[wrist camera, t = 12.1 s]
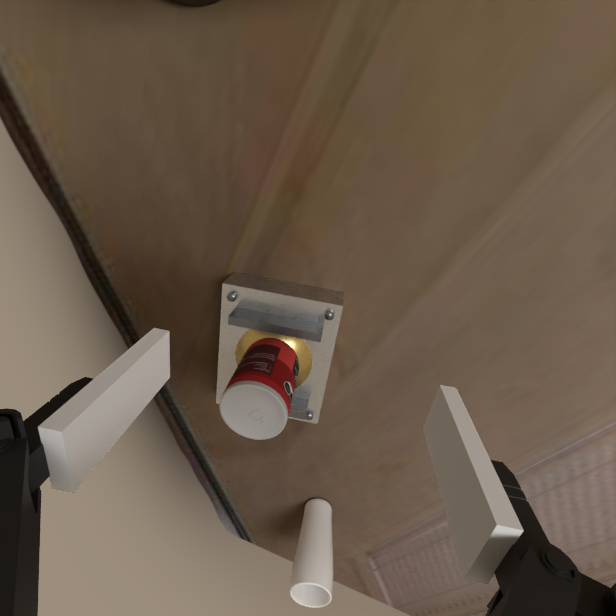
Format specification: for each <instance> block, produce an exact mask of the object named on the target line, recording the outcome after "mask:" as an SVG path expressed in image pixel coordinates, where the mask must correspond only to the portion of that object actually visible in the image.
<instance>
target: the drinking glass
mask: <svg viewBox="0 0 616 616" xmlns="http://www.w3.org/2000/svg"><path fill="white" fill-rule="evenodd" d="M332 588H333V545H332V508H331V505H330V504H329V503H328V502H327V501H325V500H323V499H319V498H315V499H311V500H309V501H308V502H307V503H306V505H305V509H304V516H303V521H302V526H301V530H300V535H299V539H298V544H297V548H296V553H295V558H294V563H293V569H292V576H291V586H290V595H291V597H292V598H293V600H294V601H296V602H297V603H299V604H301V605H303V606H306V607H311V608H319V607H323V606H326V605H328V604H329V603H330V602H331V599H332Z"/></svg>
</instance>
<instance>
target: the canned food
mask: <svg viewBox="0 0 616 616" xmlns="http://www.w3.org/2000/svg"><path fill="white" fill-rule="evenodd" d="M298 373H299V361H298V357H297V355H296V353H295V351H294V350H293V348H292V347H291V346H290V345H288V344H287V343H285V342H284V341H282V340H279V339H276V338H263V339H260V340H258V341H256V342H254V343H253V344H252V345H250V346H249V348H248V349H247V351H246V352H245V354H244V356H243V358H242V360H241V361H240V363H239V365H238V367H237V369H236V370H235V372H234V374H233V376H232V377H231V379H230V381H229V383H228V385H227V386H226V389H225V390H224V392H223V395H222V397H221V400H220V406H219V407H220V413H221V416H222V418H223V420H224V421H225V423H226V424H227V425H228V426H229V427H230V428H231V429H232V430H233V431H235V432H236V433H238V434H239V435H242V436H244V437H247V438H250V439H256V440H264V439H269V438H272V437H275V436H276V435H278V434H279V433H280V432H281V431H282V430H283V429H284V427H285V425H286V422H287V419H288V416H289V411H290V407H291V403H292V399H293V394H294V390H295V386H296V382H297V377H298Z"/></svg>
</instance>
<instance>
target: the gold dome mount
mask: <svg viewBox="0 0 616 616" xmlns="http://www.w3.org/2000/svg"><path fill="white" fill-rule="evenodd" d="M343 296H344V292H339V291H334V290H328V289H323V288H317V287H312V286H307V285H301V284H296V283H291V282H285V281H280V280H275V279H269V278H264V277H259V276H253V275H248V274H242V273H237V272H234V273H233V274H232V275H231V276H230V277H229V278H227V279H226V280H225V281H224V282H223V283H222V300H221V319H220V338H219V357H218V376H217V395H216V403H217V404H220V400H221V397H222V395H223V392H224V390H225V389H226V386H227V385H228V383H229V381H230V379H231V377H232V376H233V374H234V372H235V370H236V369H237V367H238V365H239V363H240V361H241V360H242V358H243V356H244V354H245V352H246V351H247V349H248V348H249V346H250V345H252V344H253V343H254V342H256V341H258V340H260V339H263V338H276V339H279V340H282V341H284V342H285V343H287V344H288V345H290V346H291V347H292V348H293V350H294V351H295V353H296V355H297V357H298V361H299V373H298V377H297V382H296V386H295V390H294V394H293V399H292V403H291V407H290V411H289V416H288V418H291V419H296V420H301V421H306V422H311V423H316V424H318V419H319V414H320V410H321V405H322V401H323V396H324V391H325V387H326V382H327V378H328V373H329V368H330V364H331V359H332V355H333V350H334V346H335V341H336V336H337V332H338V327H339V323H340V318H341V313H342V309H343Z"/></svg>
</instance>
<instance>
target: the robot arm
mask: <svg viewBox="0 0 616 616" xmlns="http://www.w3.org/2000/svg"><path fill="white" fill-rule="evenodd" d="M173 1H176V2H178V3H181V4H185V5H192V6H201V5H207V4H211V3H214V2H216V1H219V0H173ZM169 378H170V345H169V331H167V330H162V329H157V328H153V329H152V330H151V331H150V332H149V333H147V334H146V335H145V336H144V337H143V338H141V339H140V340H139V341H138V342H137V343H136V344H134V345H133V346H132V347H131V348H130V349H129V350H127V351H126V352H125V353H124V354H123V355H122V356H120V357H119V358H118V359H117V360H116V361H114V363H112V364H111V365H110V366H109V367H107V368H106V369H105V370H104V371H103V372H102V373H100V374H99V375H98V376H97V377H96V378H94V379H92V378H87V377H84V378H82V379H80V380H78V381H76V382H73V383H71V384H70V385H68V386H67V387H66V388H65V389H63V390H62V391H61V392H60V393H59V395H58V394H57V395H56V396H55V397H53V398H52V399H51V400H50V402H47V403H46V404H45V405H43V406H42V407H41V408H40V409H38V410H37V411H36V412H35V413H33V414H32V415H31V416H30V417H29V418H27V419H26V420H25V421H23V419H22V416H21V413H20V412H18V411H17V410H14V409H0V616H37V612H38V580H39V547H40V513H41V490H40V486H41V484H42V483H43V482H44V481H45V480H46V479H47V478H48V477H50V482H51V486H52V488H53V489H58V490H62V491H67V492H72V493H74V492H75V491H76V490H77V488H78V487H79V486H80V485H81V484H82V482H83V481H84V480H85V479H86V478H87V476H88V475H89V474H90V473H91V472H92V470H93V469H94V468H95V467H96V466H97V464H98V463H99V462H100V461H101V460H102V458H103V457H104V456H105V455H106V454H107V452H108V451H109V450H110V449H111V448H112V446H113V445H114V444H115V443H116V441H117V440H118V439H119V438H120V437H121V435H122V434H123V433H124V432H125V431H126V430H127V428H128V427H129V426H130V425H131V424H132V422H133V421H134V420H135V418H136V417H137V416H138V415H139V414H140V413H141V411H142V410H143V409H144V408H145V407H146V405H147V404H148V403H149V402H150V401H151V399H152V398H153V397H154V396H155V395H156V393H157V392H158V391H159V390H160V389H161V387H162V386H163V385H164V384H165V383H166V381H167V380H168V379H169ZM422 429H423V433H424V437H425V440H426V444H427V448H428V451H429V455H430V459H431V462H432V466H433V470H434V473H435V477H436V481H437V484H438V488H439V491H440V495H441V499H442V502H443V506H444V510H445V513H446V517H447V521H448V524H449V528H450V532H451V535H452V539H453V542H454V546H455V550H456V553H457V557H458V561H459V564H460V568H461V572H462V575H463V579H466V580H471V581H475V582H480V583H484V584H488V583H489V581H490V580H491V578H492V577H493V575H494V574H495V575H496V578H497V581H498V584H499V587H500V588H499V590H498V591H497V592H496V594H495V595H494V597H493V598H492V599H491V601H490V602H489V604H488V605H487V607H488V608H489V610H488V612H487V614H486V616H616V584H614V585H613V586H612V587H611V588H609V587H607V586H605V585H603V584H601V583H599V582H598V581H596V580H594V579H592V578H590V577H588V576H586V575H584V574H582V573H580V572H579V571H578V569H577V567H576V566H575V564H574V563H573V562H572V561H571V559H570V558H569V557H568V556H567V555H566V554H565V553H564V552H562V551H561V550H560V549H559V548H557V547H555V546H554V545H552V544H550V542H549V541H548V539H547V537H546V535H545V533H544V531H543V529H542V527H541V525H540V524H539V522H538V520H537V518H536V516H535V514H534V512H533V510H532V508H531V506H530V505H529V503H528V502H527V501H526V497H525V495H524V493H523V491H521V487H520V486H519V484H518V482H517V480H516V478H515V476H514V474H513V473H512V472H511V471H510V470H509V469H508V468H507V467H506V466H505V465H504V463H503V462H498V461H493V460H490V458H489V456H488V454H487V452H486V450H485V448H484V446H483V443H482V441H481V439H480V437H479V435H478V433H477V431H476V429H475V427H474V424H473V422H472V420H471V418H470V416H469V414H468V412H467V410H466V408H465V405H464V403H463V401H462V399H461V397H460V395H459V393H458V391H457V389H456V388H454V387H449V386H444V385H440V386H439V388H438V391H437V393H436V396H435V398H434V401H433V403H432V406H431V408H430V411H429V413H428V416H427V418H426V421H425V423H424V426H423V428H422Z"/></svg>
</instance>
